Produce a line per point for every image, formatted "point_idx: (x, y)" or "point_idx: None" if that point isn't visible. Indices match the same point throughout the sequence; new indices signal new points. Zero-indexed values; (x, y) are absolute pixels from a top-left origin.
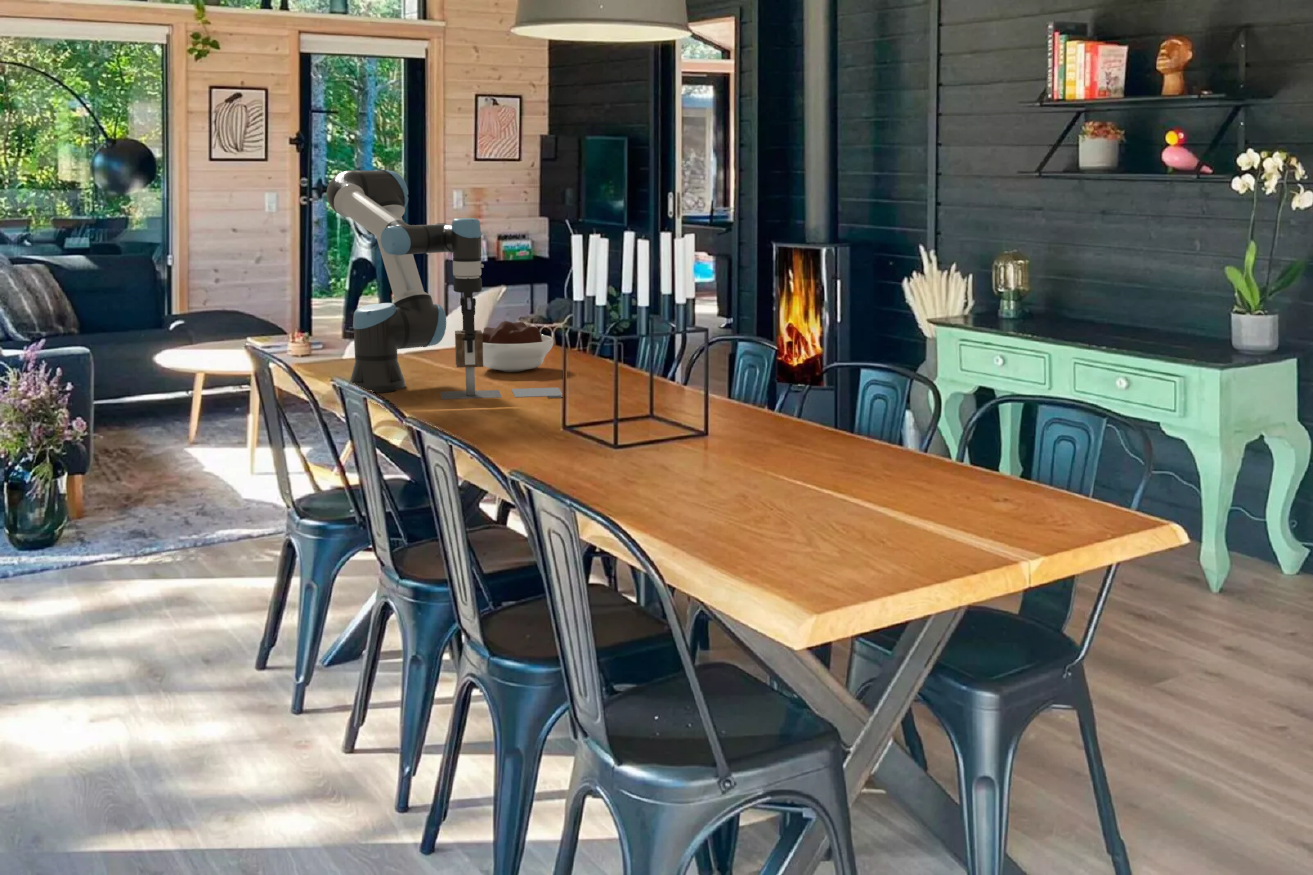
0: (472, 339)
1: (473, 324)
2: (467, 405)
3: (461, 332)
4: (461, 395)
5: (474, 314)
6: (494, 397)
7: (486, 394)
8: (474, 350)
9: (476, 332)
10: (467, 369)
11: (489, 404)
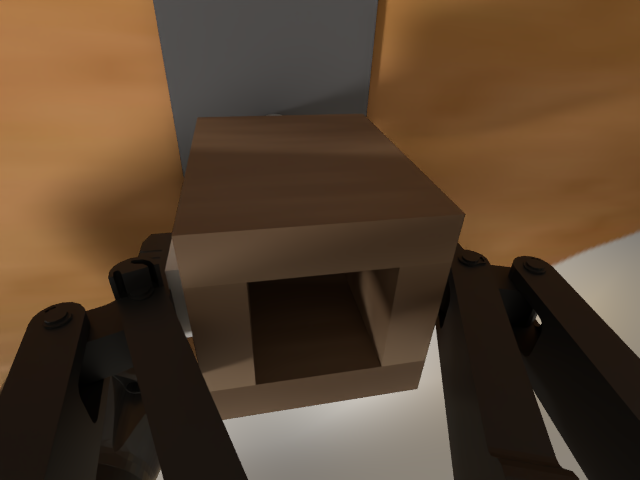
0: (497, 266)
1: (625, 356)
2: (462, 146)
3: (255, 371)
4: None
5: (552, 467)
6: (374, 27)
7: (287, 61)
8: None
9: (365, 269)
10: None
11: (476, 61)
